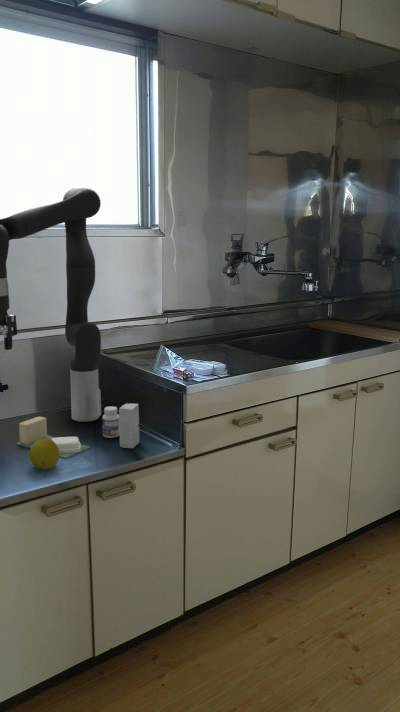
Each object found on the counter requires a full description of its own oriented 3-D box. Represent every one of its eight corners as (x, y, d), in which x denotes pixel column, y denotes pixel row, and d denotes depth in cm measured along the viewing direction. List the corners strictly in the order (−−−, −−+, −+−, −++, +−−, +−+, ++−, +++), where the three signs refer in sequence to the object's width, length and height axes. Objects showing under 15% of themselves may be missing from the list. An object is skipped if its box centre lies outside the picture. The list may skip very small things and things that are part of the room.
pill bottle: (105, 431, 190) (105, 405, 188) (121, 432, 189) (121, 406, 187) (100, 437, 185) (99, 410, 183) (116, 438, 184) (116, 411, 182)
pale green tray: (41, 434, 186) (40, 415, 185) (89, 448, 176) (89, 427, 175) (16, 444, 178) (15, 423, 177) (65, 459, 168) (64, 437, 166)
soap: (80, 443, 179) (80, 434, 178) (81, 452, 172) (80, 442, 171) (49, 445, 177) (49, 436, 176) (49, 454, 170) (48, 444, 169)
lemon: (57, 475, 157) (56, 446, 155) (26, 475, 157) (25, 447, 155) (62, 459, 168) (61, 432, 166) (34, 459, 167) (33, 432, 165)
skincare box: (133, 449, 176) (132, 409, 174) (118, 447, 177) (118, 408, 175) (140, 441, 182) (139, 403, 179) (126, 440, 183) (125, 402, 180)
